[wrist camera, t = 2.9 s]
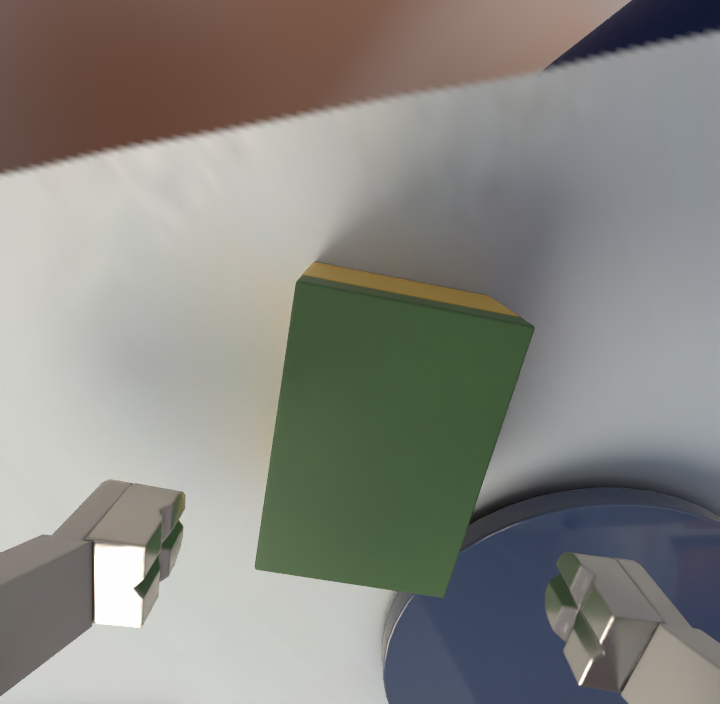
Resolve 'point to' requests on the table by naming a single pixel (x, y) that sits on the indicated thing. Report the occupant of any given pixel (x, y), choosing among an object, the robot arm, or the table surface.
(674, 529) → the plate
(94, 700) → the table surface
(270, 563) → the sponge
